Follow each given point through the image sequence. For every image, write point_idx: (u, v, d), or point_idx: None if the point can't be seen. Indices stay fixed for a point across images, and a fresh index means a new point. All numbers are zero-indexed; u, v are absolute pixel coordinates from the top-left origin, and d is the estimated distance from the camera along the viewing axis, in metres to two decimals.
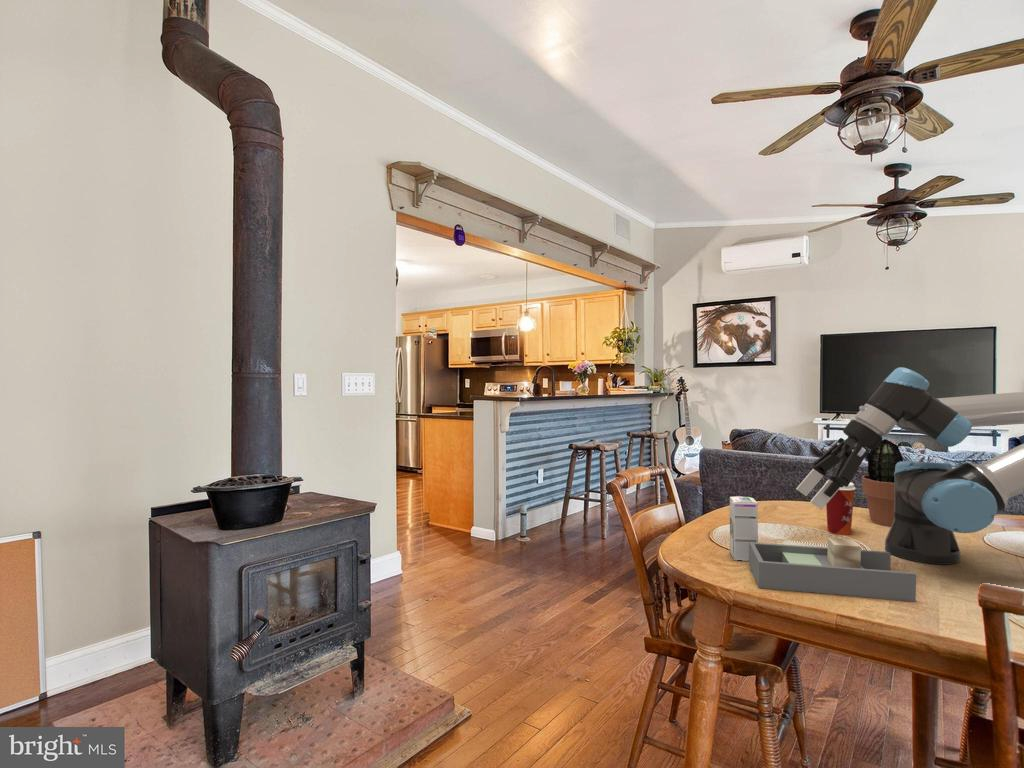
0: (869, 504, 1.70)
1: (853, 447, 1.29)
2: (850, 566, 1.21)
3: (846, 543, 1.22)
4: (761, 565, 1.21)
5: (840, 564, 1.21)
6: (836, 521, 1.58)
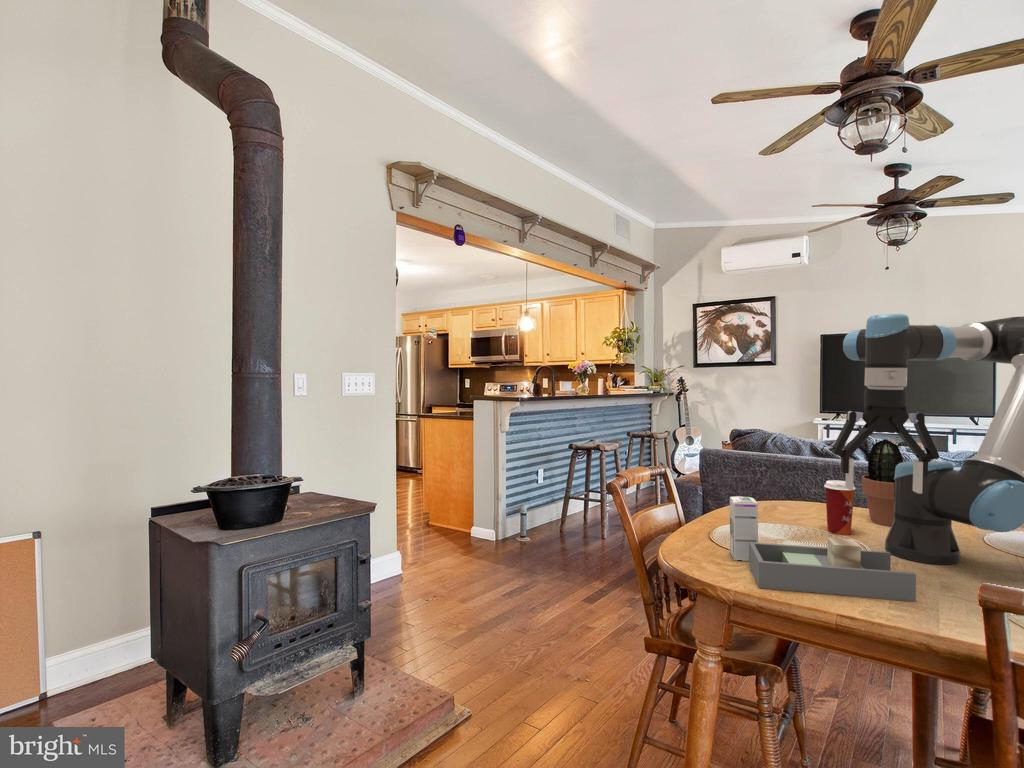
0: (869, 504, 1.70)
1: (907, 416, 1.18)
2: (850, 566, 1.21)
3: (846, 543, 1.22)
4: (761, 565, 1.21)
5: (840, 564, 1.21)
6: (836, 521, 1.58)
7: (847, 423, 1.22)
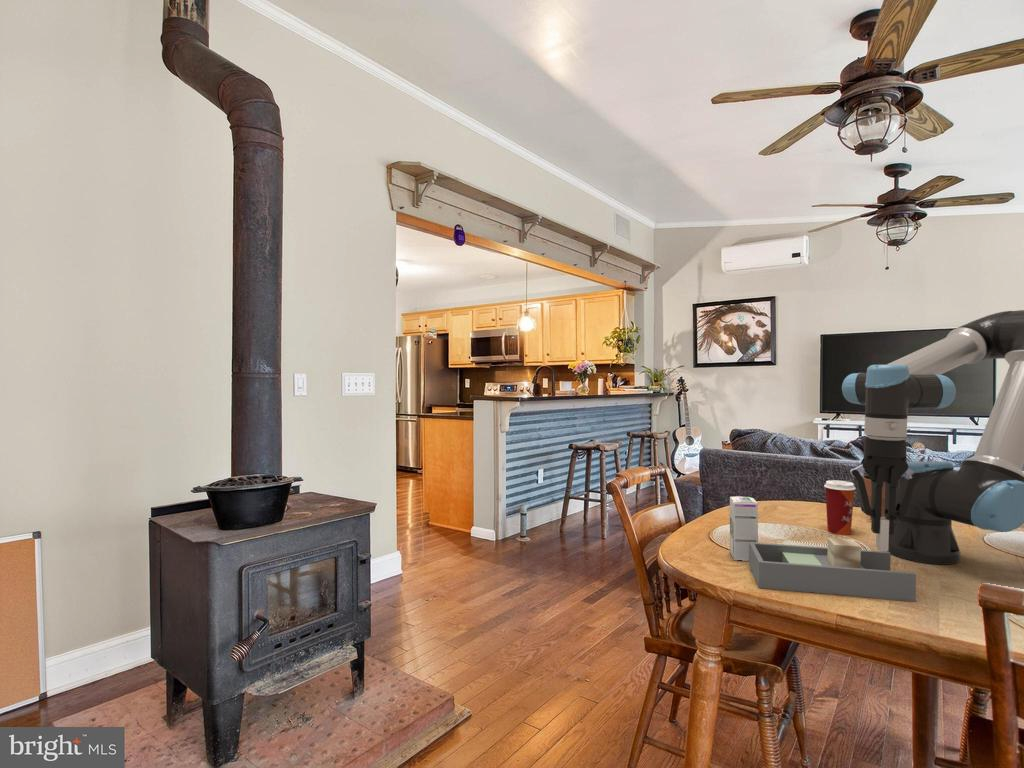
0: None
1: (906, 469, 1.19)
2: (850, 566, 1.21)
3: (846, 543, 1.22)
4: (761, 565, 1.21)
5: (840, 564, 1.21)
6: (836, 521, 1.58)
7: (856, 482, 1.21)
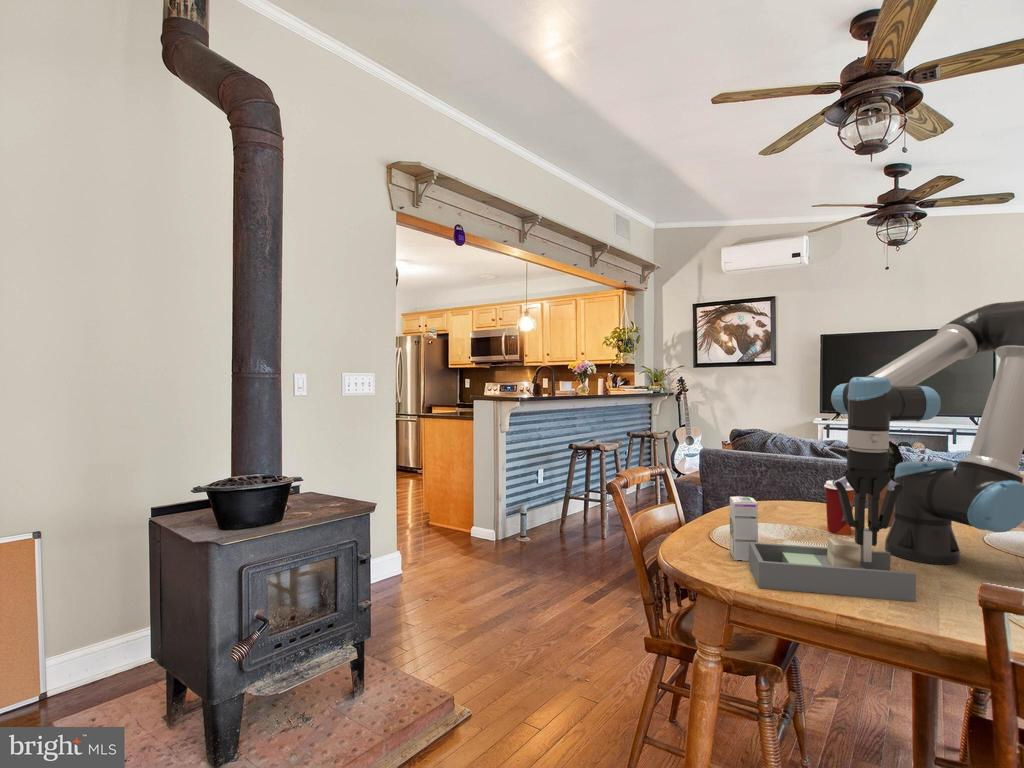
0: None
1: (888, 481, 1.19)
2: (850, 566, 1.21)
3: (846, 543, 1.22)
4: (761, 565, 1.21)
5: (839, 564, 1.21)
6: (836, 521, 1.58)
7: (840, 493, 1.22)
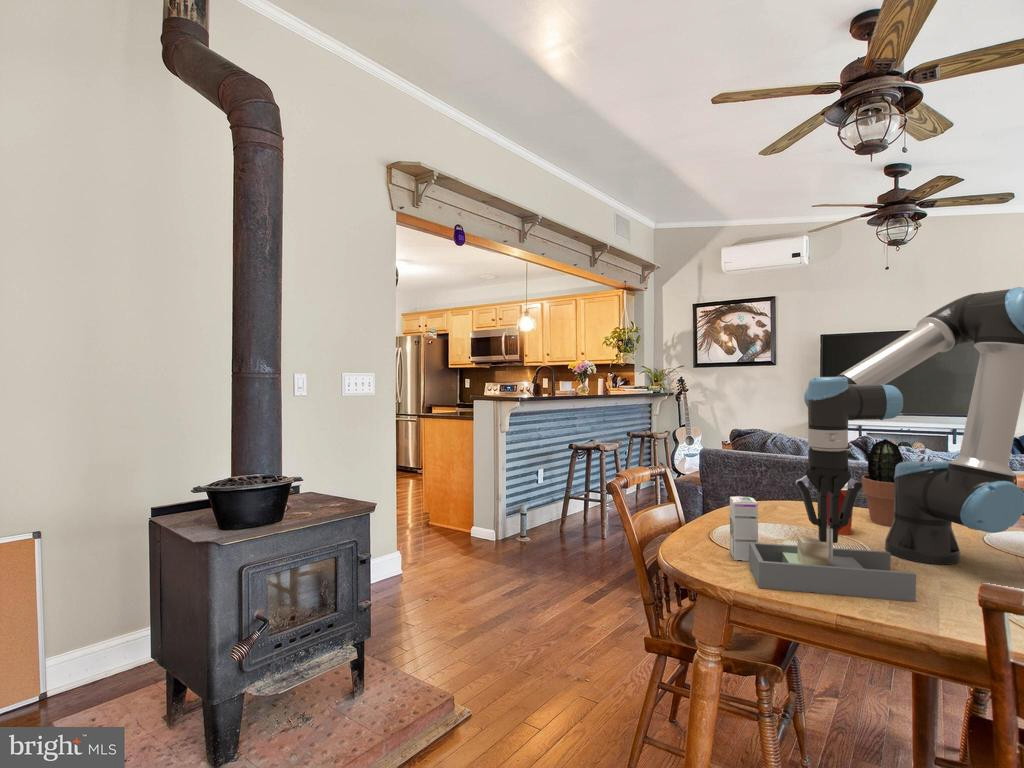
0: (869, 504, 1.70)
1: (848, 479, 1.21)
2: (818, 564, 1.22)
3: (815, 541, 1.24)
4: (761, 565, 1.21)
5: (808, 562, 1.22)
6: None
7: (802, 492, 1.24)
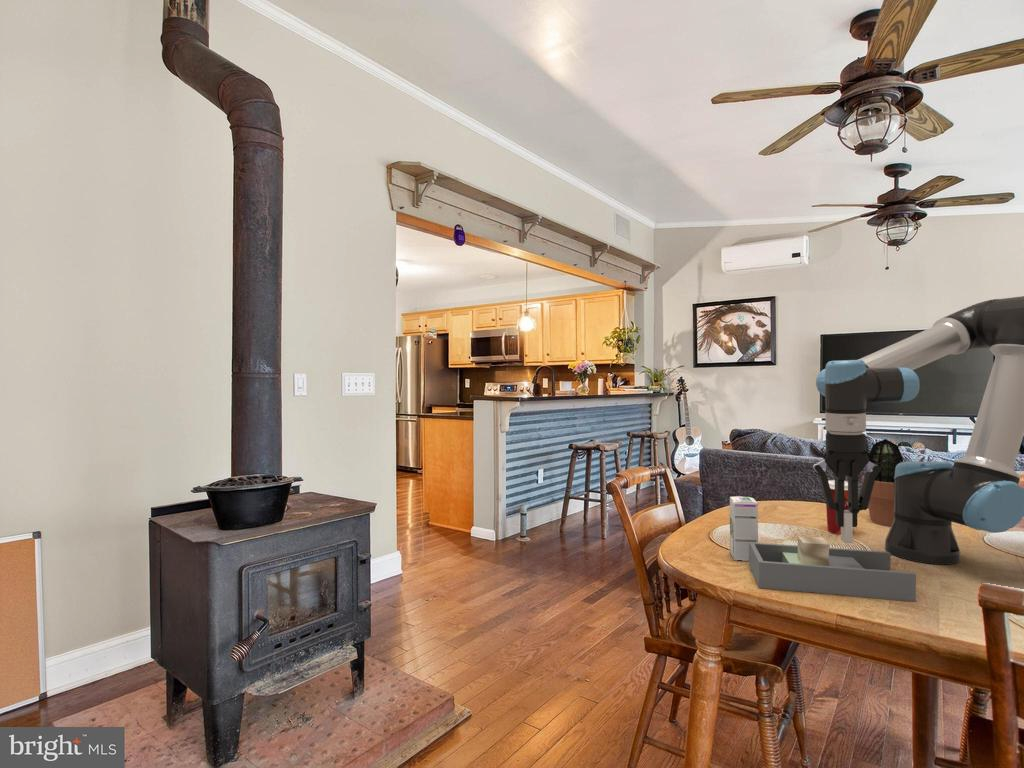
0: (869, 504, 1.70)
1: (866, 462, 1.21)
2: (819, 564, 1.22)
3: (815, 541, 1.23)
4: (761, 565, 1.21)
5: (808, 562, 1.22)
6: None
7: (819, 477, 1.23)
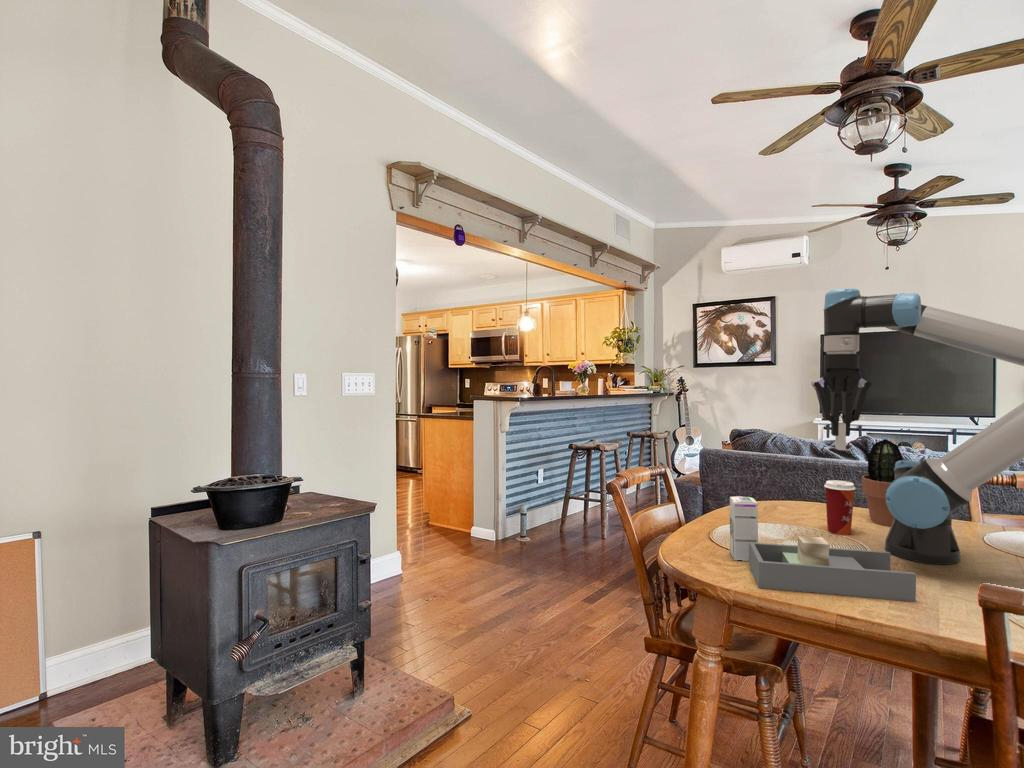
0: (869, 504, 1.70)
1: (859, 379, 1.38)
2: (819, 564, 1.22)
3: (815, 541, 1.23)
4: (761, 565, 1.21)
5: (808, 562, 1.22)
6: (836, 521, 1.58)
7: (818, 392, 1.41)
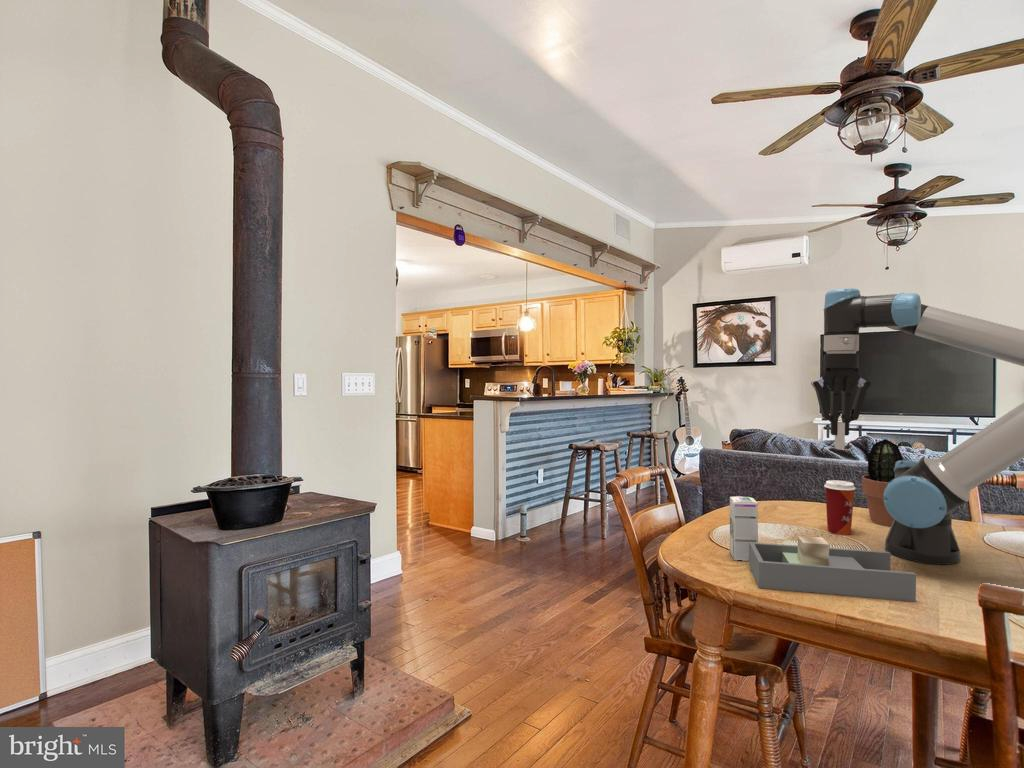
0: (869, 504, 1.70)
1: (858, 378, 1.39)
2: (819, 564, 1.22)
3: (815, 541, 1.23)
4: (761, 565, 1.21)
5: (808, 562, 1.22)
6: (836, 521, 1.58)
7: (817, 392, 1.41)
